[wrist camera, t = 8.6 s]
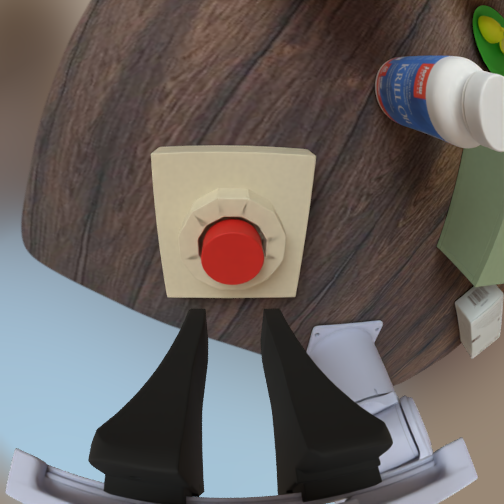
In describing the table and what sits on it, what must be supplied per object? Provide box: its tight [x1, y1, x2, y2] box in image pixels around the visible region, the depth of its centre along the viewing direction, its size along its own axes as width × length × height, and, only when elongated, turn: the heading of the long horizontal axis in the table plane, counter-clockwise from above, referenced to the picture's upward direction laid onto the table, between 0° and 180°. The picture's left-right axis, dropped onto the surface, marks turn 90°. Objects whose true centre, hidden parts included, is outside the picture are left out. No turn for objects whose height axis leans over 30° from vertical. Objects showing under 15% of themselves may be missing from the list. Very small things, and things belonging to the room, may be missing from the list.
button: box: [201, 219, 264, 285], centre depth 17 cm, size 4×4×2 cm
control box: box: [151, 145, 316, 298], centre depth 19 cm, size 11×10×4 cm
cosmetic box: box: [455, 285, 503, 359], centre depth 28 cm, size 6×4×12 cm
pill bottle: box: [375, 56, 504, 152], centre depth 12 cm, size 6×5×10 cm
